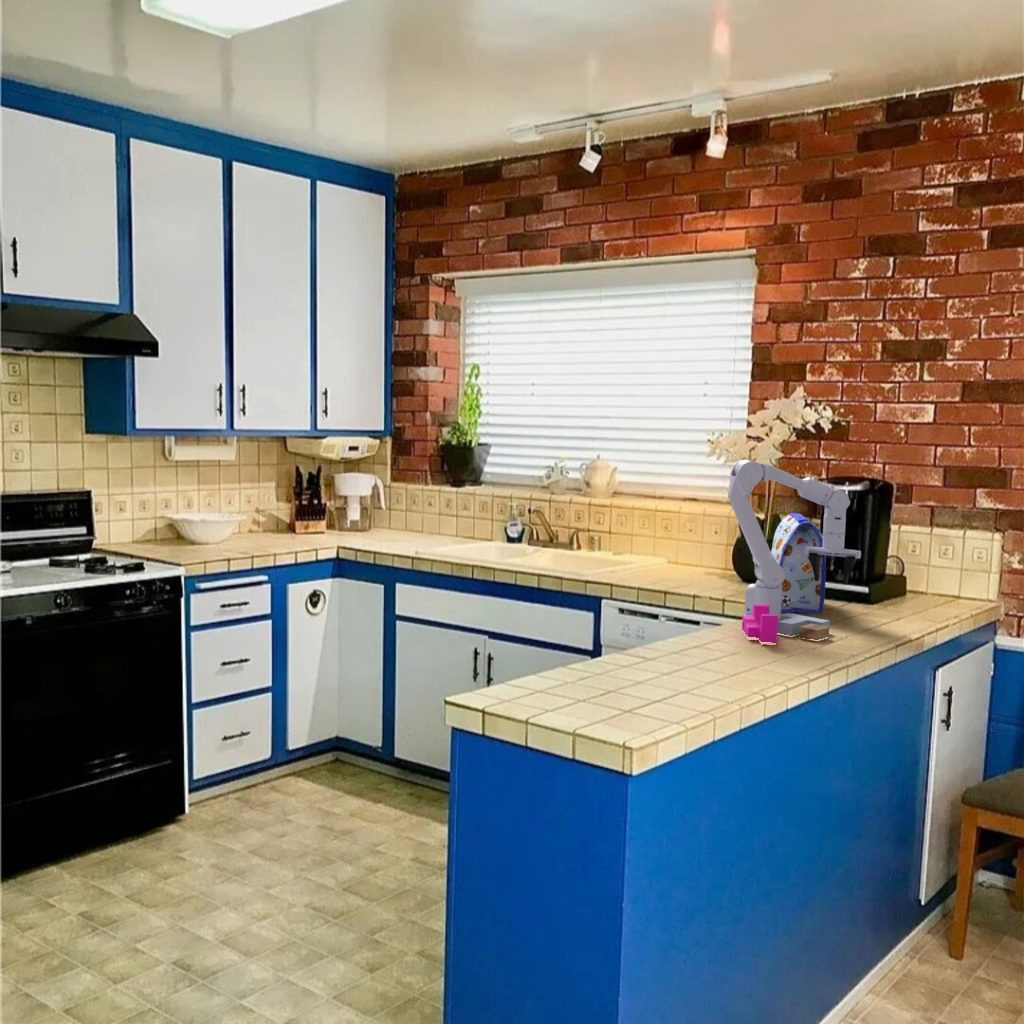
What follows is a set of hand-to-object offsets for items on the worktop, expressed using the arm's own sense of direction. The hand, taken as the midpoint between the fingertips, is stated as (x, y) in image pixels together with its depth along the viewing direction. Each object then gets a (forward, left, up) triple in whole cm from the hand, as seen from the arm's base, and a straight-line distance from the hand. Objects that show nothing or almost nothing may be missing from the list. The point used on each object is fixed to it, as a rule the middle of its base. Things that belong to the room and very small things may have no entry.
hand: (831, 582), depth 284 cm
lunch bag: (-16, +10, -11) cm, 22 cm away
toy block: (0, -36, -11) cm, 38 cm away
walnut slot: (+3, -26, -10) cm, 28 cm away
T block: (+3, -23, -10) cm, 25 cm away
